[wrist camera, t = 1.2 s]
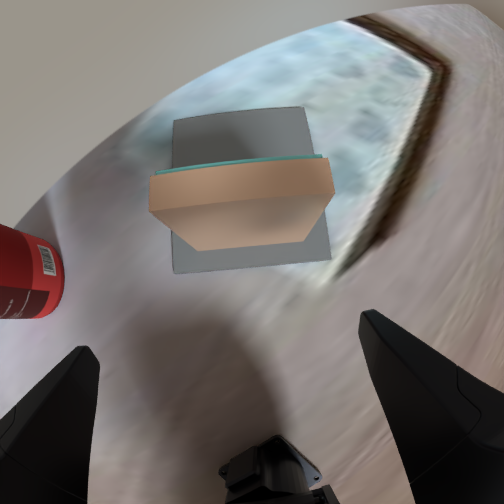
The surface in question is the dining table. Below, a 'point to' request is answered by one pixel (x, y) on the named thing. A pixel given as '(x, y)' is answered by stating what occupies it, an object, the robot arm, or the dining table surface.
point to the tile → (243, 200)
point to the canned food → (28, 276)
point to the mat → (239, 148)
